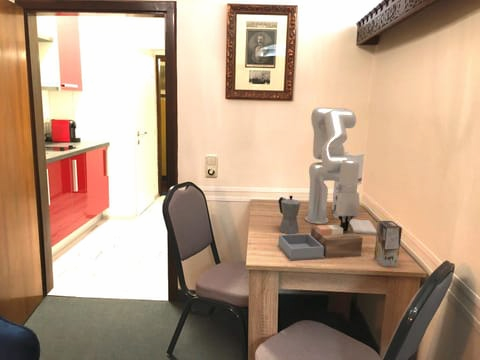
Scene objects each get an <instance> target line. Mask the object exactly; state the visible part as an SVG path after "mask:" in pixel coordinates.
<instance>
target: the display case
mask: <svg viewBox="0 0 480 360" xmlns="http://www.w3.org/2000/svg"><path fill="white" fill-rule="evenodd" d="M344 157H353V158H354V159H355V160H357V161H358V162H359V174H358V184H357V186H358V185H361V184H362V181H363V171H364V161H365V153H357V154H350V153H349V151H344ZM333 182H334V183H333V192H332V194H333V195H332V207H331V214H332V213H333V214H332V215H334V212H333V209H334V201H335V197H336V193H337V191H338V190H336V186H338V185H339V180H338V181H333Z"/></svg>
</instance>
